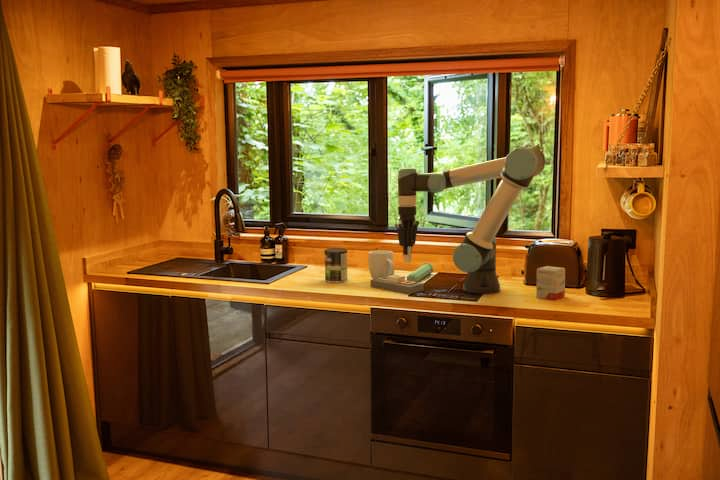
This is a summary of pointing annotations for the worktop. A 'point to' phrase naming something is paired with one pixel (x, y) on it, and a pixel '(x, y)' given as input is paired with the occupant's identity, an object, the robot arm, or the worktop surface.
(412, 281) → the tile terracotta
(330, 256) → the coffee can
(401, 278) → the tile cream
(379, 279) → the tile sage
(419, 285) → the socket board
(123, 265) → the worktop surface
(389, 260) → the mug
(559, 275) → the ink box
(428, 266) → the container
